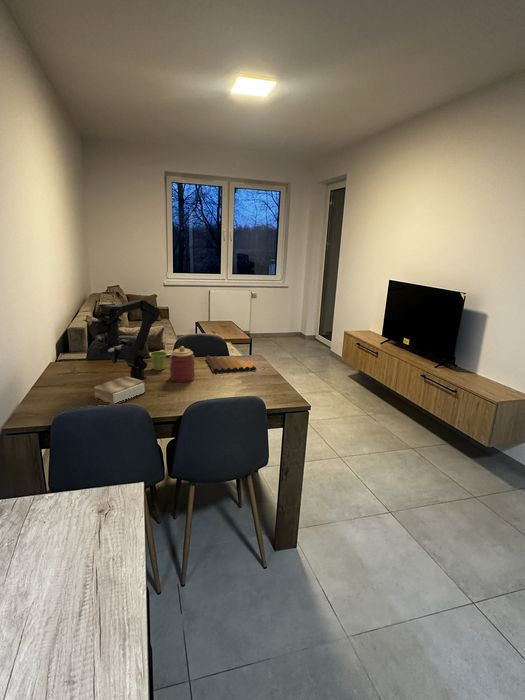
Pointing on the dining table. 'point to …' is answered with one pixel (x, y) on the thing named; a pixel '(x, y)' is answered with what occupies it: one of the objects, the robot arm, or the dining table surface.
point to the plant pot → (158, 360)
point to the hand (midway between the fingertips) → (114, 363)
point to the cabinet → (114, 387)
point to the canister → (182, 365)
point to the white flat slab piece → (129, 392)
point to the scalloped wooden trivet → (228, 365)
